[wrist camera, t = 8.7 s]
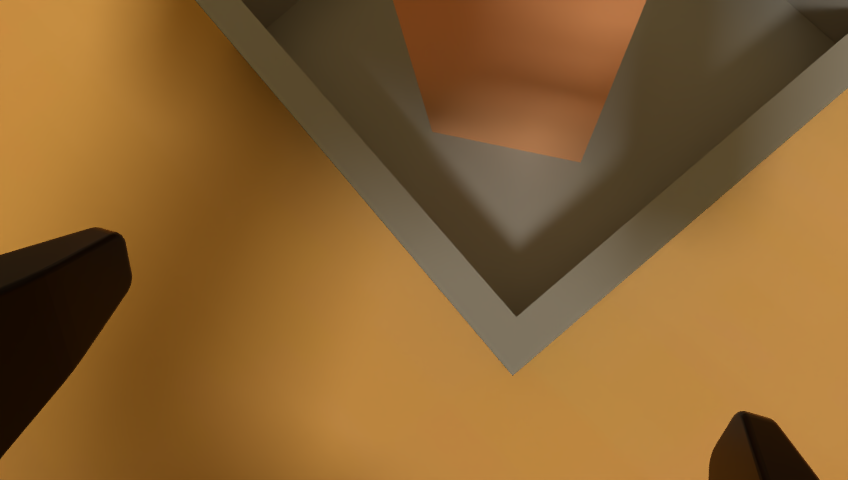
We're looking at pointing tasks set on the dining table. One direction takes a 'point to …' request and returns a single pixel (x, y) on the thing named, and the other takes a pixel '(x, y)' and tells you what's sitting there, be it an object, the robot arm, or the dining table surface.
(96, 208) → the dining table surface
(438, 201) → the tray
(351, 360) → the dining table surface
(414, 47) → the block
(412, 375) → the dining table surface
